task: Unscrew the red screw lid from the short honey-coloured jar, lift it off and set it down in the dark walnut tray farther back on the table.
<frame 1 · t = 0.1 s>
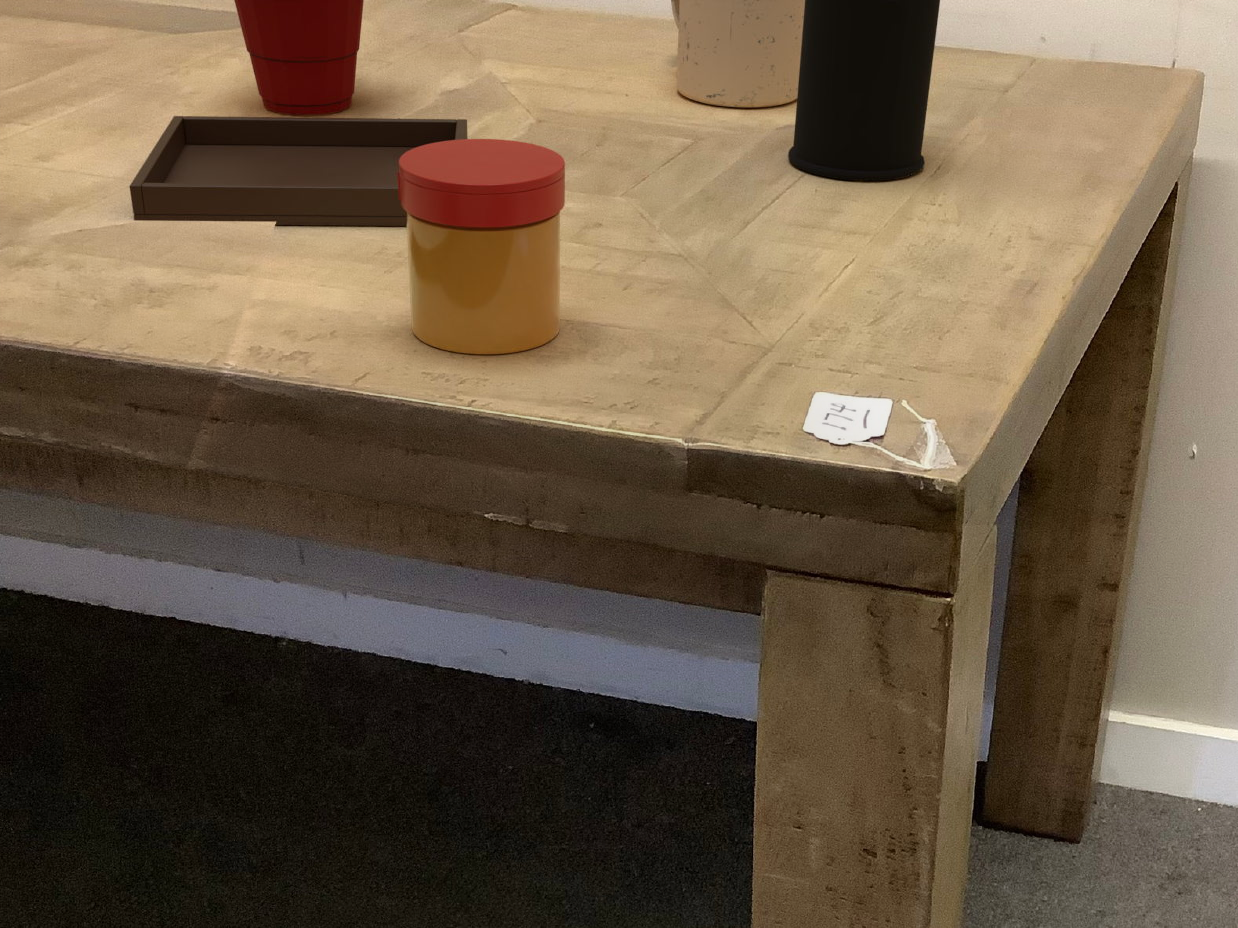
tray: (312, 186, 95), on the table
jar: (485, 327, 77), on the table
aerosol can: (855, 165, 102), on the table
cap: (482, 170, 73), point 7 cm above the table, screwed on, not yet turned
plastic cup: (308, 109, 109), on the table
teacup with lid: (725, 91, 116), on the table
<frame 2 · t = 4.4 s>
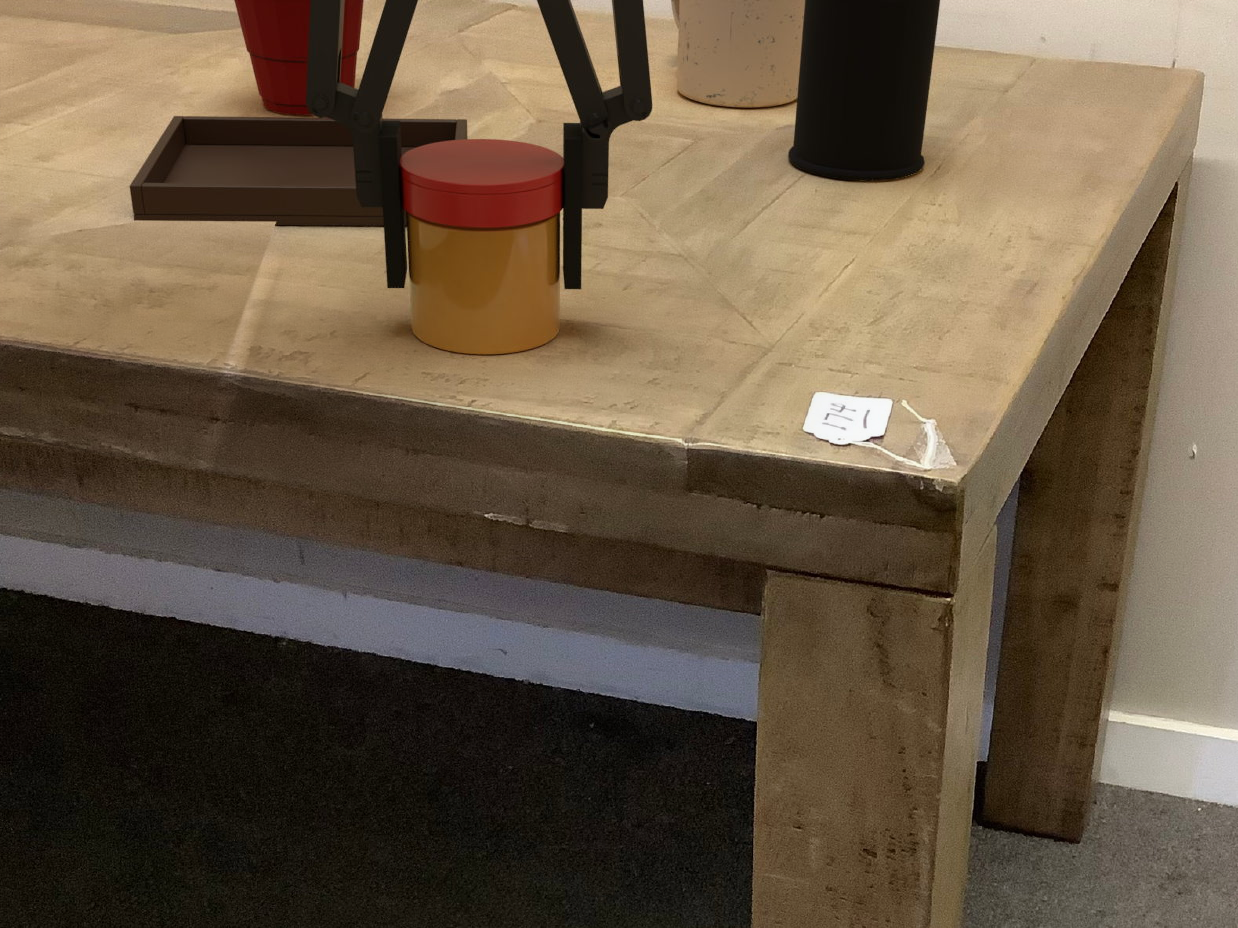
hand: (484, 277, 76), 2 cm above the table, tool pointing down, fingers closed on cap, 7 cm apart
cap: (482, 170, 73), point 7 cm above the table, screwed on, not yet turned, touching gripper
everything else where it was.
when the fingers open (2 cm above the table, at t = 6.4 s): cap stays where it is, point 7 cm above the table.
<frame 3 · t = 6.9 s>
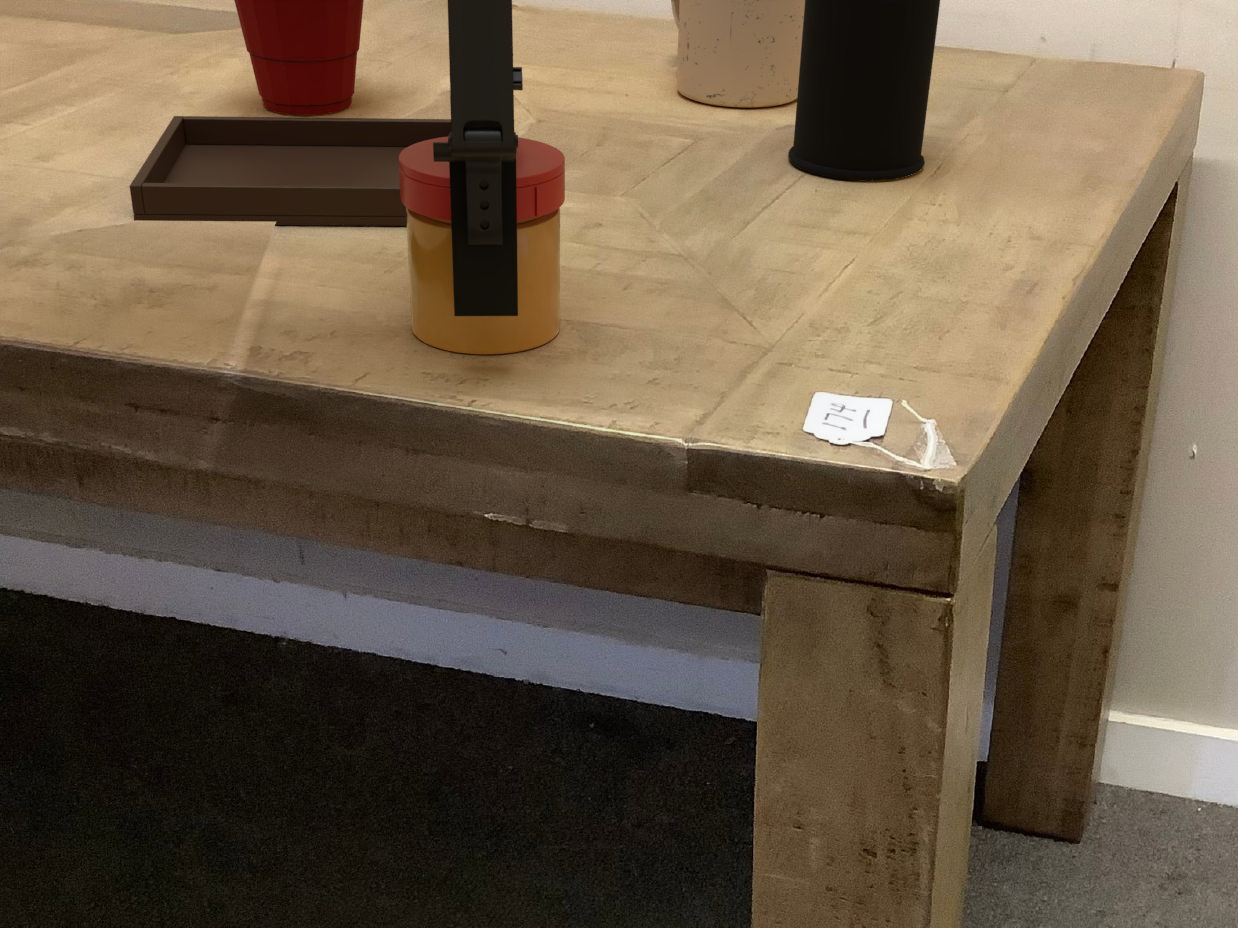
hand: (484, 274, 76), 2 cm above the table, tool pointing down, fingers open, 9 cm apart
cap: (482, 165, 73), point 7 cm above the table, turned 130° so far, risen 0.2 cm, still on its thread
everything else where it was.
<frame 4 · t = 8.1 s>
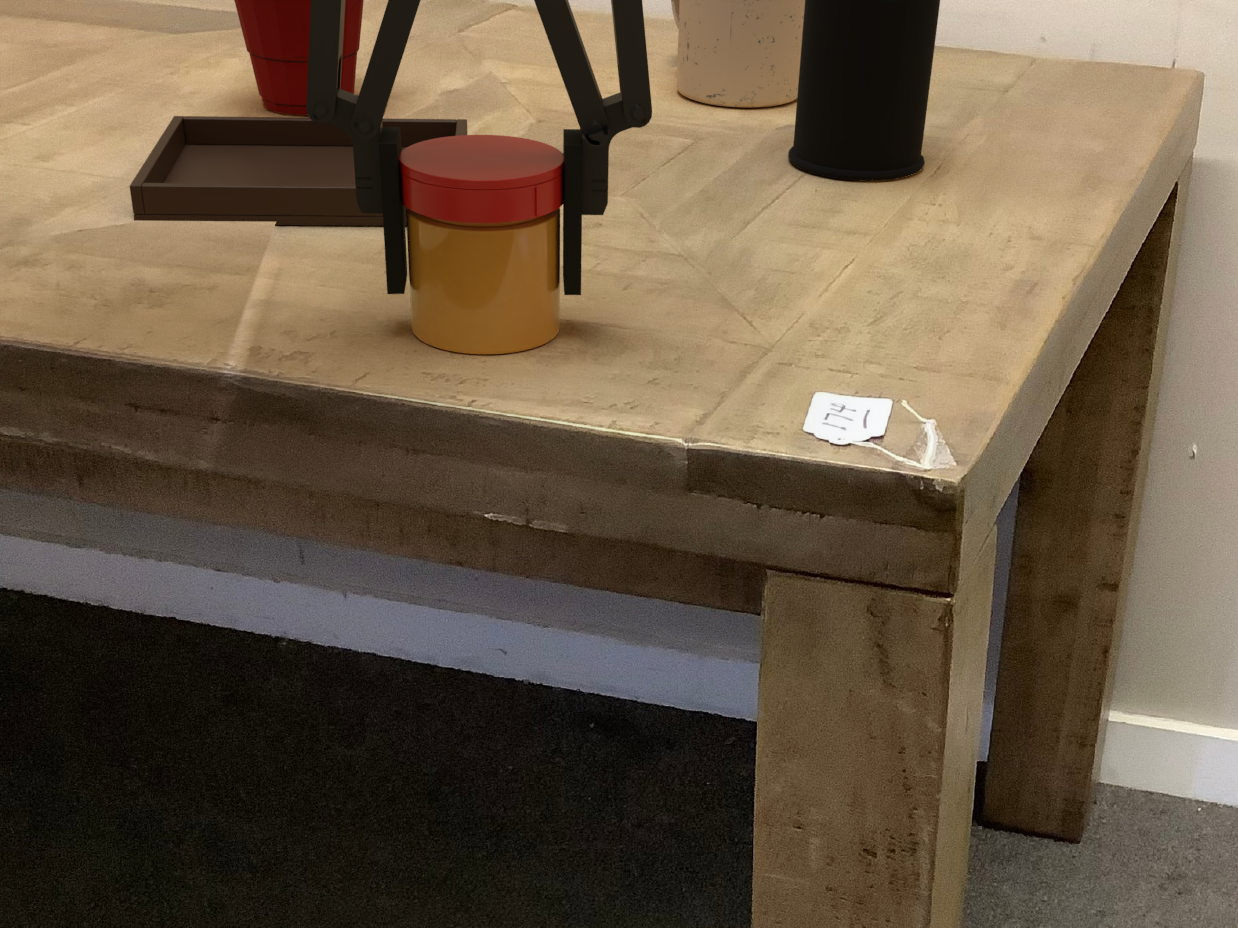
hand: (484, 283, 76), 2 cm above the table, tool pointing down, fingers closed on cap, 7 cm apart
cap: (482, 165, 73), point 7 cm above the table, turned 130° so far, risen 0.2 cm, still on its thread, touching gripper
everything else where it was.
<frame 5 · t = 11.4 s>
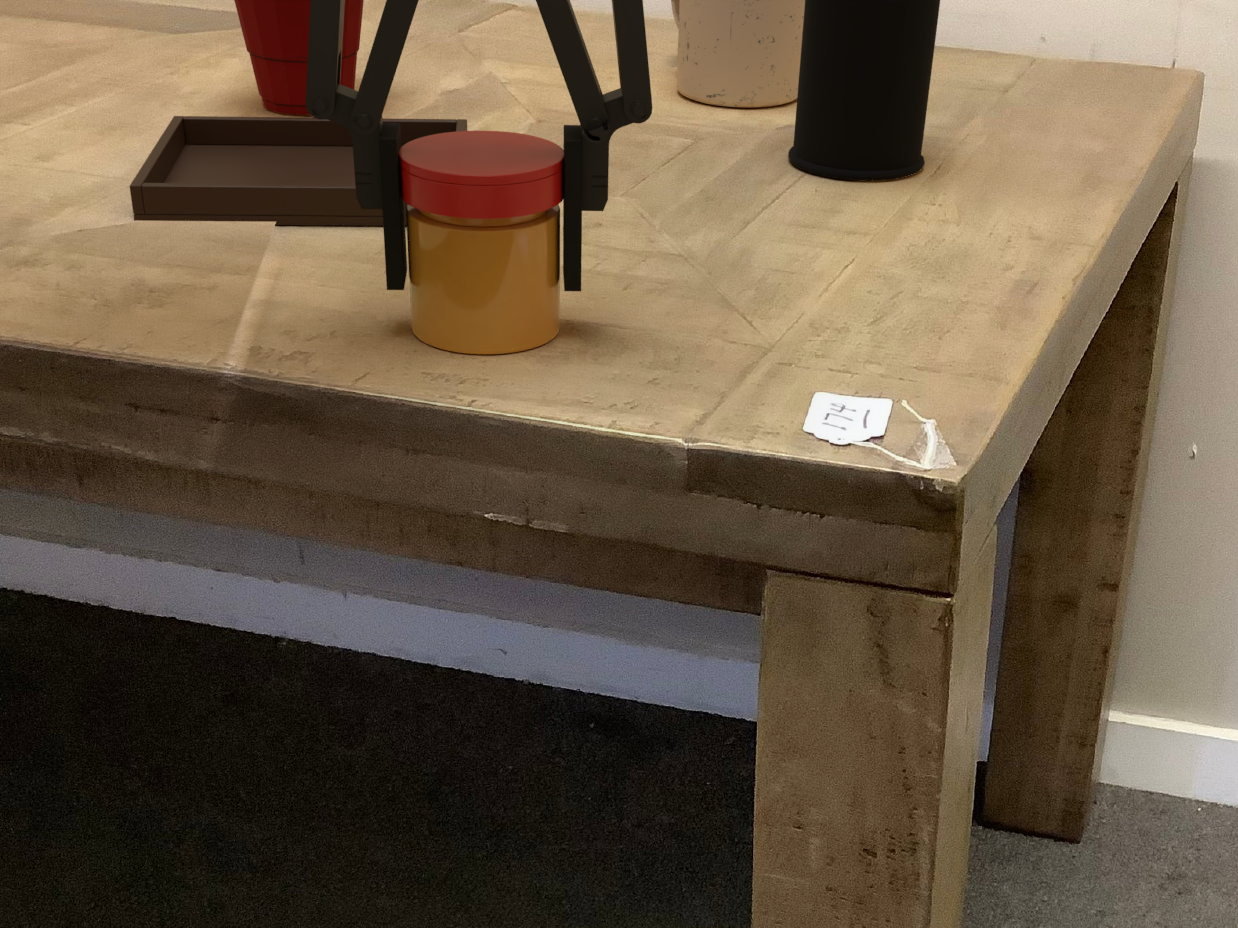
hand: (484, 279, 76), 2 cm above the table, tool pointing down, fingers closed on cap, 7 cm apart
cap: (482, 161, 73), point 7 cm above the table, turned 260° so far, risen 0.4 cm, still on its thread, touching gripper
everything else where it was.
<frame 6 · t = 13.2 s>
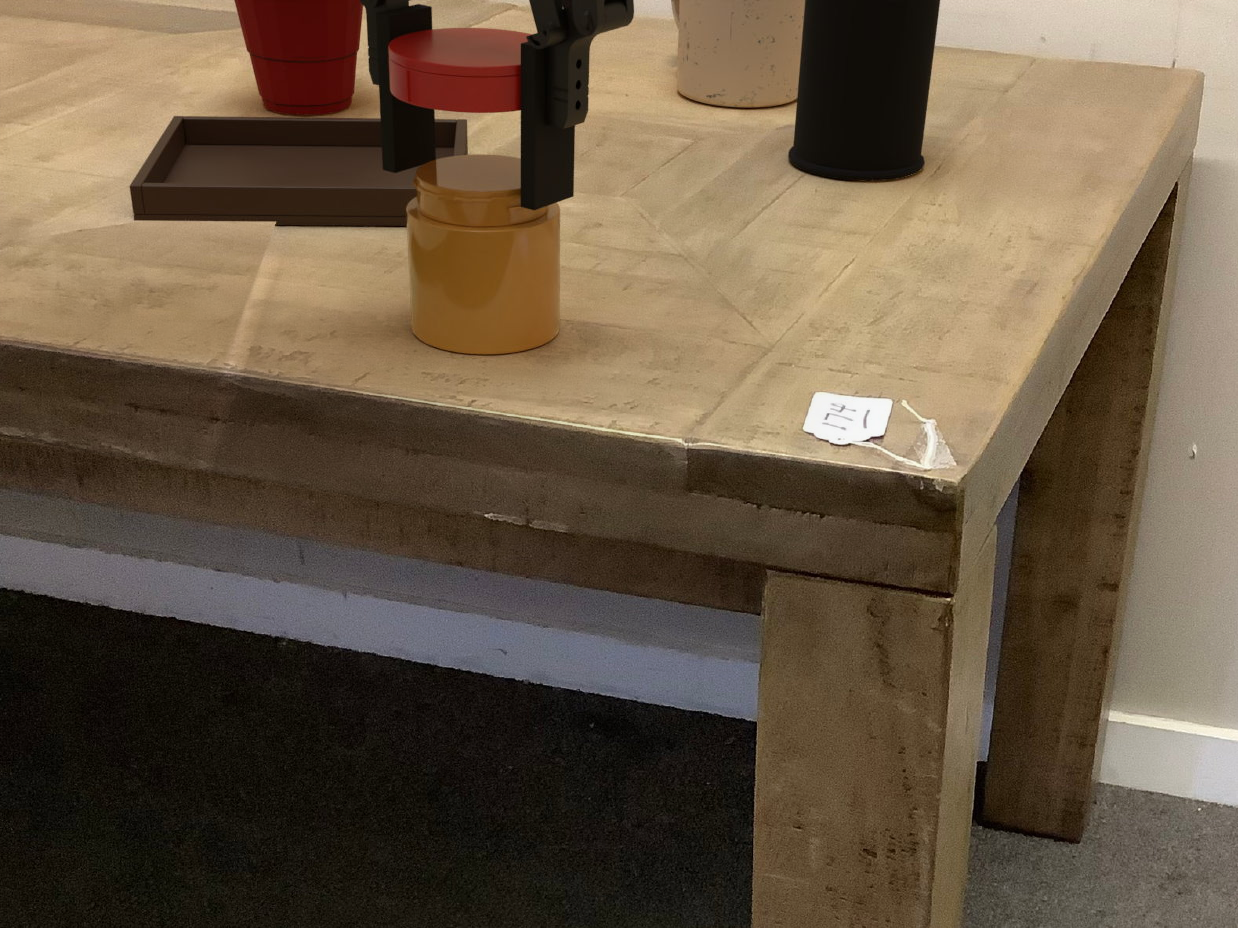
hand: (476, 182, 74), 7 cm above the table, tool pointing down, fingers closed on cap, 7 cm apart
cap: (475, 56, 71), point 12 cm above the table, off its thread, touching gripper
everything else where it was.
when the fingers open (1 cm above the table, at t = 19.1 s): cap drops 4 cm, resting on tray.
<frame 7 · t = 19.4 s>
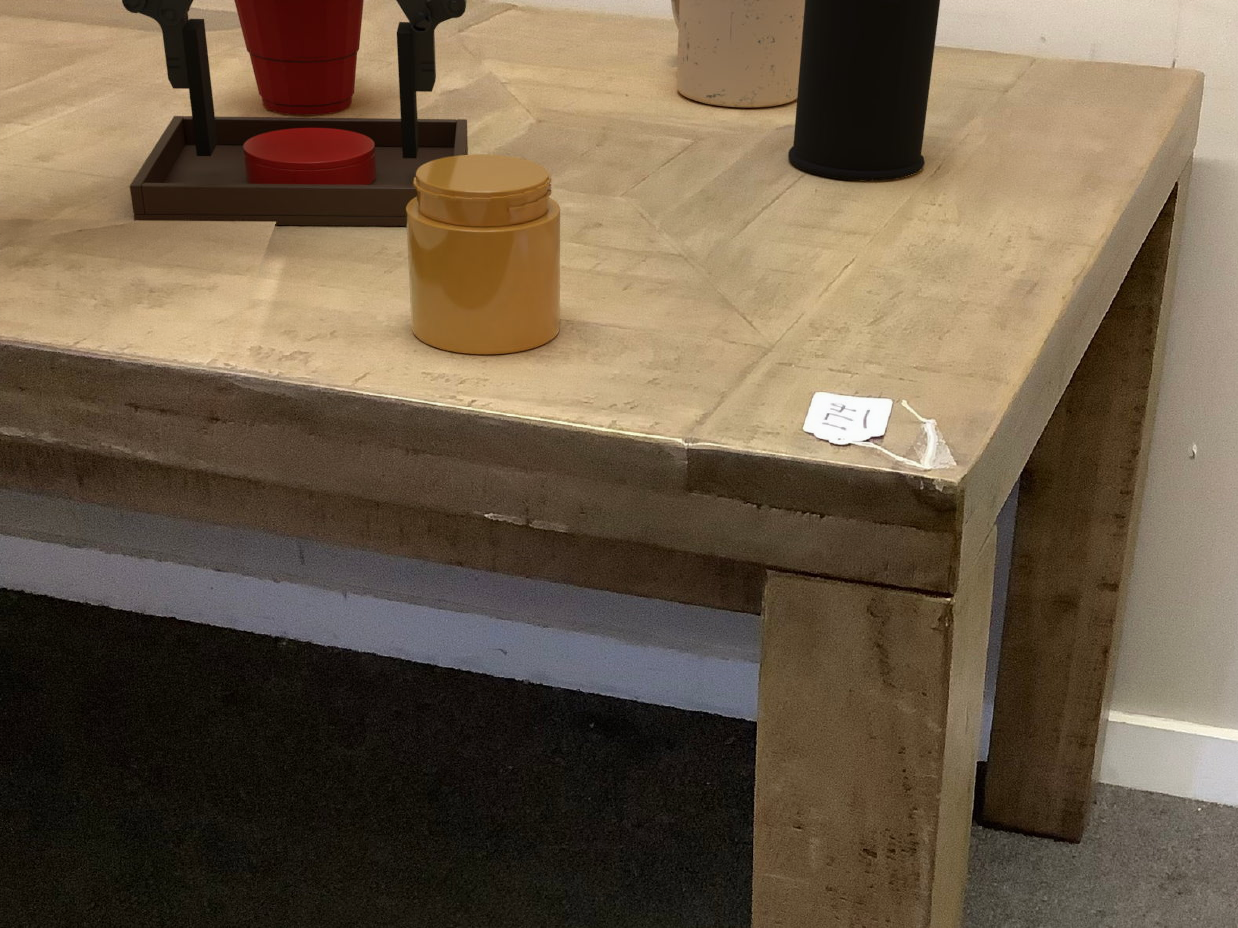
hand: (309, 150, 93), 2 cm above the table, tool pointing down, fingers open, 10 cm apart
cap: (309, 151, 94), point 2 cm above the table, off its thread, touching tray
everything else where it was.
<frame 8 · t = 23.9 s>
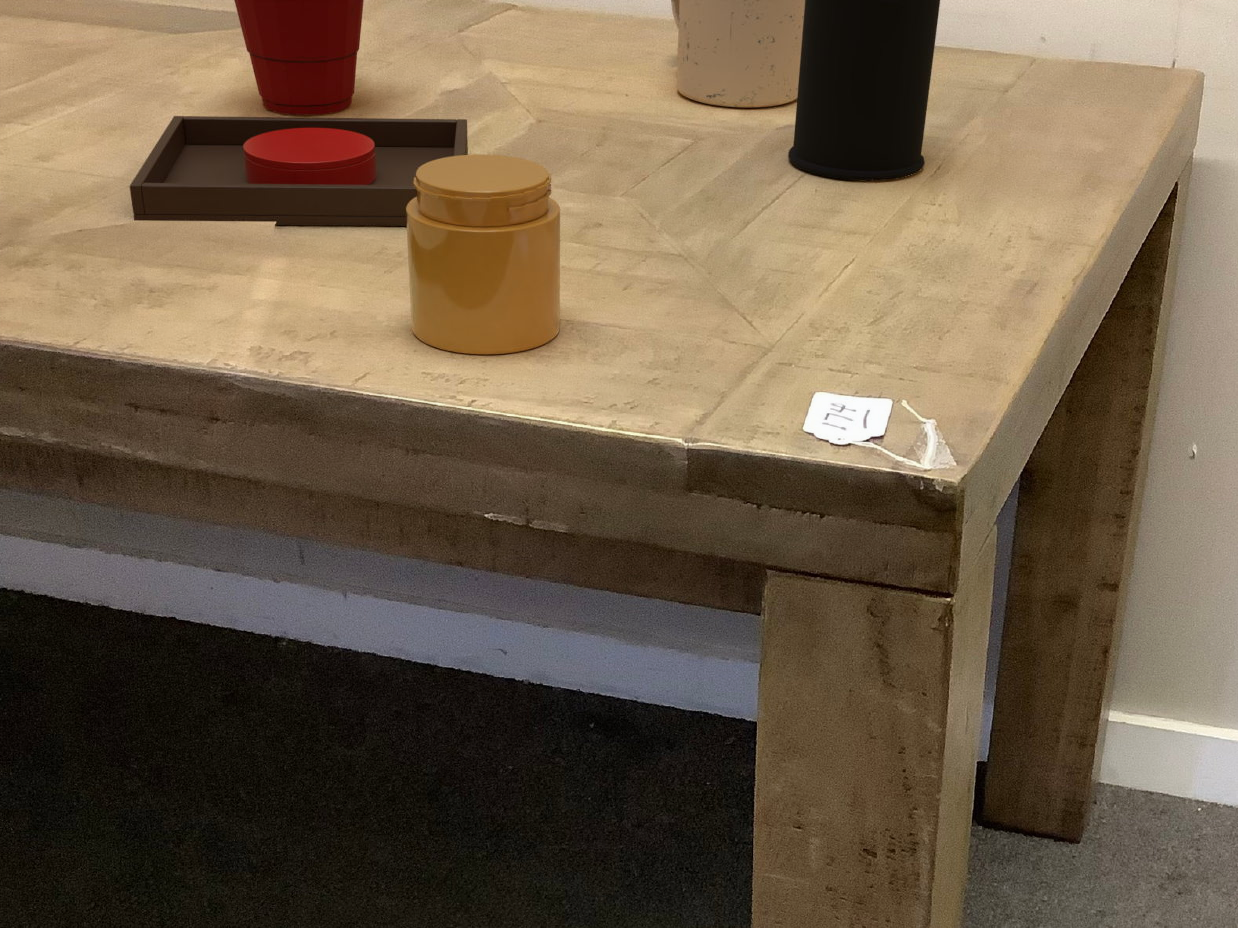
nothing on the table moved.
at the end: cap came off its thread; cap inside the target area in the tray (0.0 cm from its centre), point 1.9 cm above the tray's base; the gripper is holding nothing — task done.
